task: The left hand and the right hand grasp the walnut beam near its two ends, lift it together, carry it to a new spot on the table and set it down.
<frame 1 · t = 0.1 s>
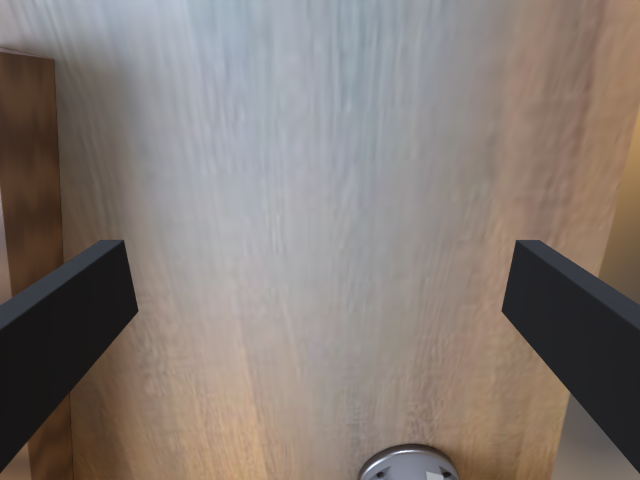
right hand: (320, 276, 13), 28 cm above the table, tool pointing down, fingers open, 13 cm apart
beam: (43, 319, 46), on the table
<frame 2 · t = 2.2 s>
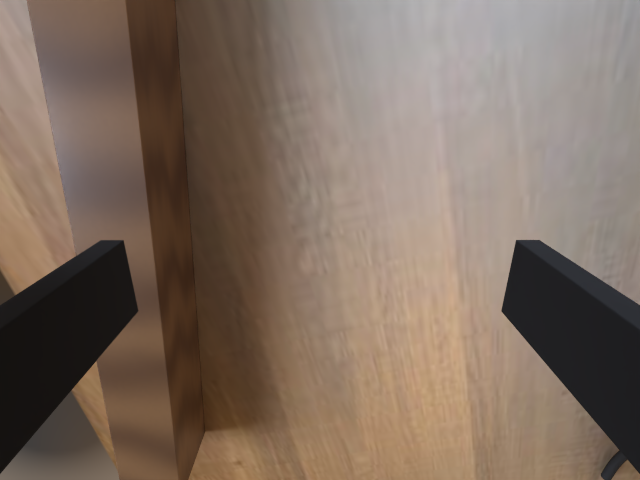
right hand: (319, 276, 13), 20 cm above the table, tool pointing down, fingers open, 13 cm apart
beam: (154, 165, 31), on the table
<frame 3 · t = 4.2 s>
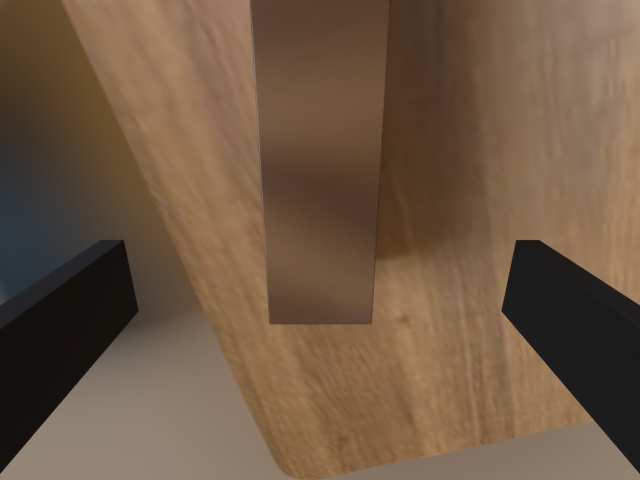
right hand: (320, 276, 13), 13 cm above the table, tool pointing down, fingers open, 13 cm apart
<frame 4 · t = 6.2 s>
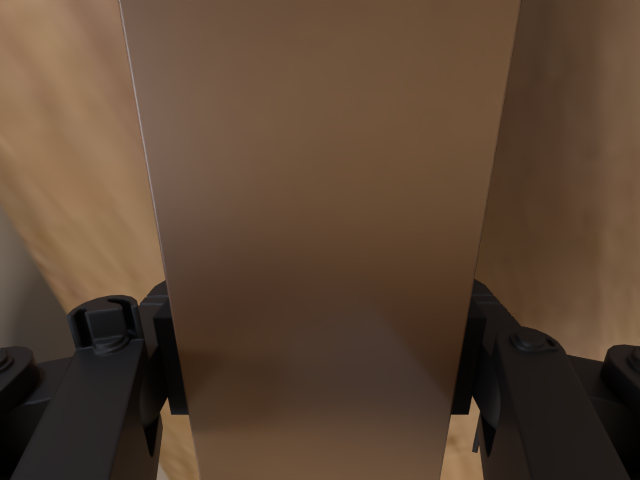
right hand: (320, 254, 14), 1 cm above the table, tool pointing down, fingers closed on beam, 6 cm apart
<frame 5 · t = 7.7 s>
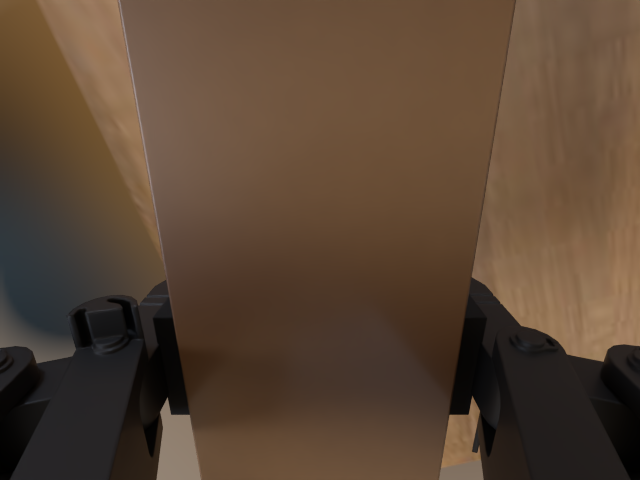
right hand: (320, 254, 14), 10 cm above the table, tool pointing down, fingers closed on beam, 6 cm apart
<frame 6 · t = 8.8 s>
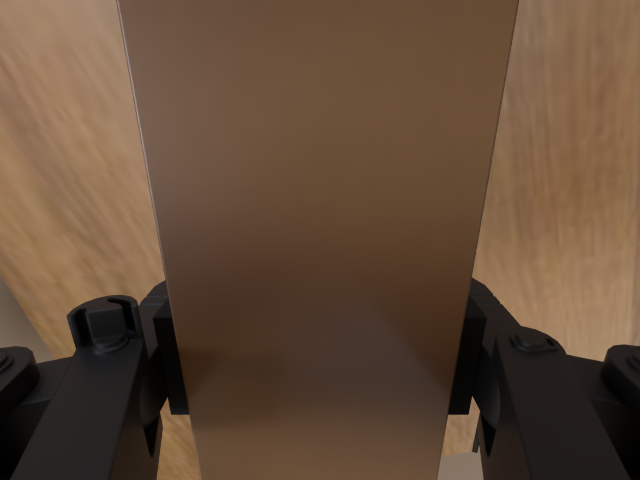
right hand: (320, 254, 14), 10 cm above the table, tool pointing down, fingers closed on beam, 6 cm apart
when the right hand's fingers open (2 cm above the table, at t = 11.5 s): beam drops 1 cm, on the table.
when the left hand's fingers open (4 cm above the table, at t = 11.7 s): beam stays where it is, on the table.
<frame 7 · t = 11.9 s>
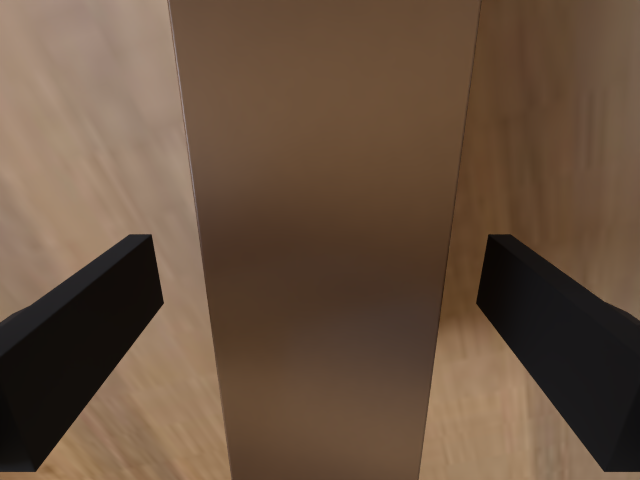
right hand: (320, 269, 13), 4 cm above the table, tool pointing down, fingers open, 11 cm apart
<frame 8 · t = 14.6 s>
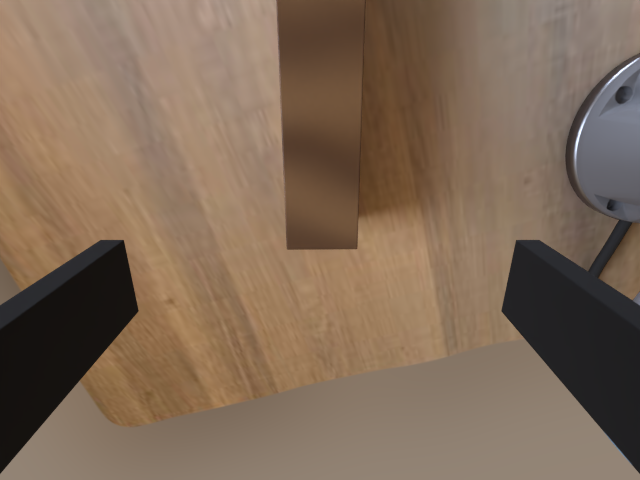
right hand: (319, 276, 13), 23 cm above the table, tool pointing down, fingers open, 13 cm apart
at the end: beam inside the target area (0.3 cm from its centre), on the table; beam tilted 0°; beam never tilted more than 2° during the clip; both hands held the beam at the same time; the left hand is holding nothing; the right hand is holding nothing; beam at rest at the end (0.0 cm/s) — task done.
